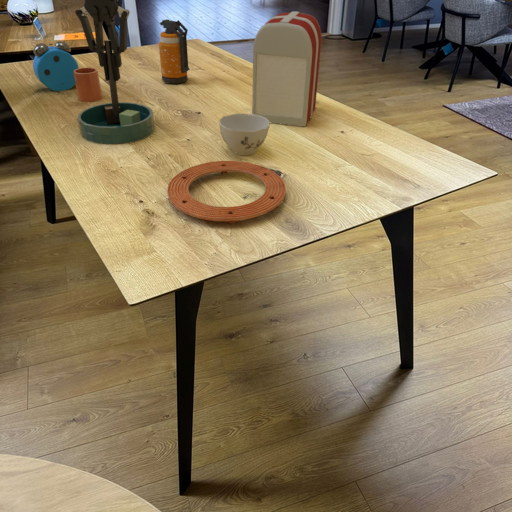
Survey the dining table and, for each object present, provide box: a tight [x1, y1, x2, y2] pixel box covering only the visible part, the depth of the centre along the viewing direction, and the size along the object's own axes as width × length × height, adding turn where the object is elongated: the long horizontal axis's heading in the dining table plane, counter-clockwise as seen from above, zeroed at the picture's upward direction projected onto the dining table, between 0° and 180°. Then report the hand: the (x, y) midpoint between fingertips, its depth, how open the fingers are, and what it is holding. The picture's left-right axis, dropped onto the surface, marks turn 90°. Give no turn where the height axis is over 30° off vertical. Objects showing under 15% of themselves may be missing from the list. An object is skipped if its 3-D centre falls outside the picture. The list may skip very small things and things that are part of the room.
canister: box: [158, 19, 190, 85], centre depth 164 cm, size 9×11×20 cm
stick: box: [103, 39, 120, 119], centre depth 128 cm, size 2×2×20 cm
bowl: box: [76, 101, 155, 145], centre depth 130 cm, size 20×20×5 cm
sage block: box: [119, 110, 141, 126], centre depth 132 cm, size 4×4×4 cm
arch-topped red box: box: [251, 10, 322, 127], centre depth 137 cm, size 16×18×27 cm
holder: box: [73, 67, 103, 103], centre depth 150 cm, size 7×7×9 cm
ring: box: [166, 160, 287, 224], centre depth 103 cm, size 25×25×2 cm
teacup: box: [218, 112, 271, 156], centre depth 121 cm, size 15×12×8 cm
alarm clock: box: [32, 40, 80, 92], centre depth 156 cm, size 13×6×15 cm, turn 125°
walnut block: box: [104, 105, 121, 124], centre depth 135 cm, size 4×4×4 cm
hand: (113, 79), depth 128 cm, fingers closed on stick, 2 cm apart
